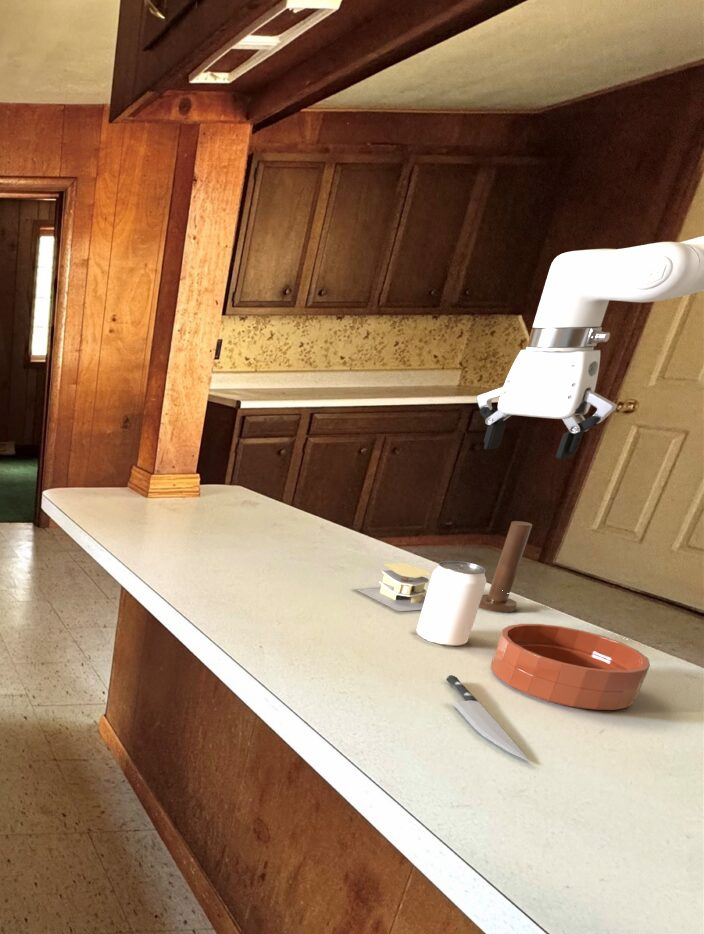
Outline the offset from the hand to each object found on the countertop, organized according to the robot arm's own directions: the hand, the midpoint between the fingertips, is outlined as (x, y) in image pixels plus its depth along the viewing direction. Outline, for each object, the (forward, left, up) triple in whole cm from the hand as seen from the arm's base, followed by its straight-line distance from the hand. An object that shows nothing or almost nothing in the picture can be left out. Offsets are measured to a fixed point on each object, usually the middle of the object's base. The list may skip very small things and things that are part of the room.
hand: (525, 453), depth 106 cm
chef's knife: (+13, +43, -26) cm, 52 cm away
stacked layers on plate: (+12, +2, -26) cm, 29 cm away
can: (+10, +18, -26) cm, 34 cm away
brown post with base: (-2, +1, -26) cm, 26 cm away
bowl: (0, +30, -26) cm, 40 cm away
